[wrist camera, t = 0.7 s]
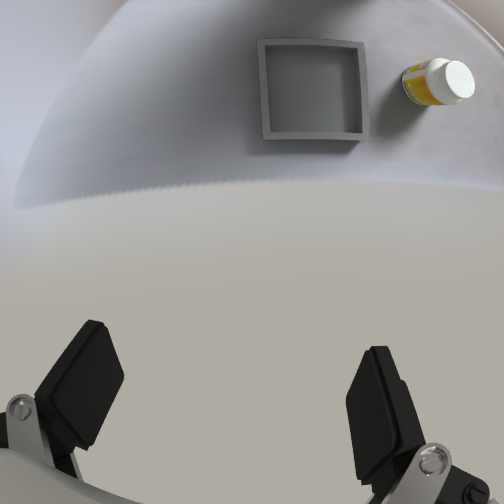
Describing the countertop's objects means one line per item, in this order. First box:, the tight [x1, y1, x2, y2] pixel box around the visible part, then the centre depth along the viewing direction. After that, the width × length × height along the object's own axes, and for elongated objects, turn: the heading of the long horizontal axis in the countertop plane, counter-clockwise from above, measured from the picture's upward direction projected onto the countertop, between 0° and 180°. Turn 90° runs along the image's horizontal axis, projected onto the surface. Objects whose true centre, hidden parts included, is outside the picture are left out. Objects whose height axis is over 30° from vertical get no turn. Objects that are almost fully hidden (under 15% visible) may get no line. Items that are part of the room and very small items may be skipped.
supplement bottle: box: [402, 58, 475, 105], centre depth 22 cm, size 5×5×10 cm
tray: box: [257, 38, 369, 141], centre depth 27 cm, size 12×12×3 cm
